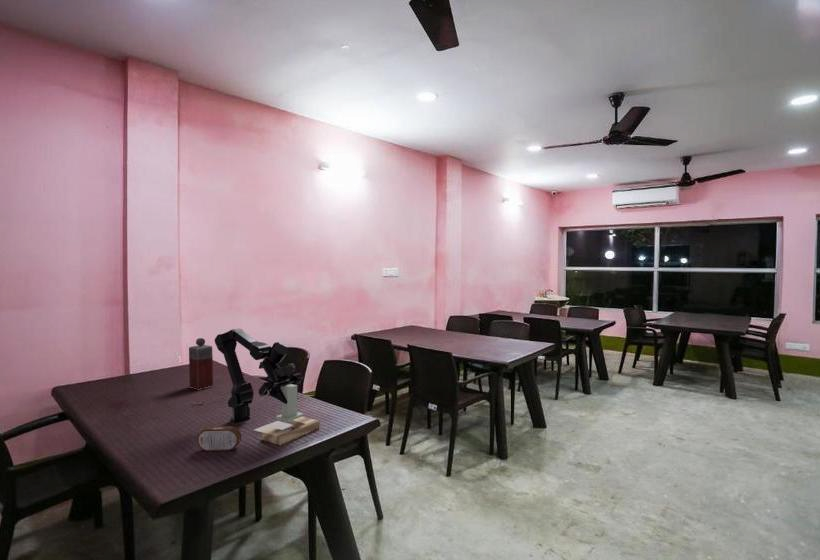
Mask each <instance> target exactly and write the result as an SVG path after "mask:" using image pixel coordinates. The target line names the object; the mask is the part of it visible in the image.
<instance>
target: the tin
mask: <svg viewBox="0 0 820 560" xmlns="http://www.w3.org/2000/svg"><path fill="white" fill-rule="evenodd" d="M196 437H197V438H196V439H197V440H196V442H197V445H198V447H199V448H200V449H202V450H203V451H207V452H220V451H221V452H222V451H223V452H228V450H229V451H232V450H234V449H236V448H237V447H238V446H239V445H240V443H241V441H242V433H241V431H240V430H239V429H238V428H237V427H235V426H232V425H219V426H218V425H217V426H215V425H211V426H210V425H208V426H206V427H203V429H201V431H200V432H199V433H198V434H197V436H196Z"/></svg>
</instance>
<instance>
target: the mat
mask: <svg viewBox="0 0 820 560" xmlns="http://www.w3.org/2000/svg"><path fill="white" fill-rule="evenodd" d="M270 428H277V429H280V430H284V431H286V430H288V429H290V428H293V427H292V423H291V424H290V423H289V422H285V421H281V420H276V421H274V422H270V423H268V424H266V425H263V426H260V427H258V428H255V429H253V432H255V433H256V432H257V433H260V434H262V432H263V431H265V430H268V429H270Z"/></svg>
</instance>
